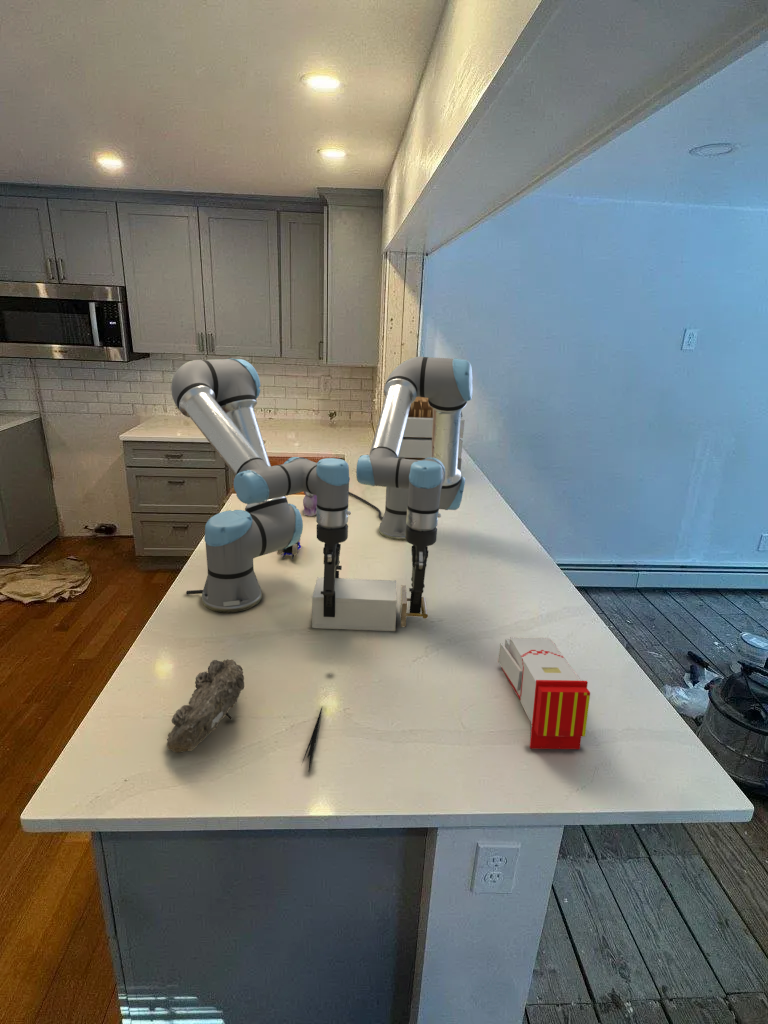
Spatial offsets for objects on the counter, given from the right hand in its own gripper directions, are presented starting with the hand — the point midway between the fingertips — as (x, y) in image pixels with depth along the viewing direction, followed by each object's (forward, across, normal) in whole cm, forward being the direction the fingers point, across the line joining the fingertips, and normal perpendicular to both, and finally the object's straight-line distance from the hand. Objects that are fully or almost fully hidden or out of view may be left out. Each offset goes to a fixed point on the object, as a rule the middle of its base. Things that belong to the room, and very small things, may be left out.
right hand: (414, 612), depth 144 cm
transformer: (+2, +139, -8) cm, 139 cm away
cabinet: (+3, 0, +15) cm, 15 cm away
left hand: (-1, 0, +21) cm, 21 cm away
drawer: (+2, 0, +9) cm, 9 cm away
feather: (+3, -38, +20) cm, 43 cm away
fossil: (+3, -39, +40) cm, 56 cm away
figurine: (+3, +77, +36) cm, 85 cm away
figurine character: (+3, +39, +38) cm, 54 cm away
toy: (+2, -30, -23) cm, 38 cm away
